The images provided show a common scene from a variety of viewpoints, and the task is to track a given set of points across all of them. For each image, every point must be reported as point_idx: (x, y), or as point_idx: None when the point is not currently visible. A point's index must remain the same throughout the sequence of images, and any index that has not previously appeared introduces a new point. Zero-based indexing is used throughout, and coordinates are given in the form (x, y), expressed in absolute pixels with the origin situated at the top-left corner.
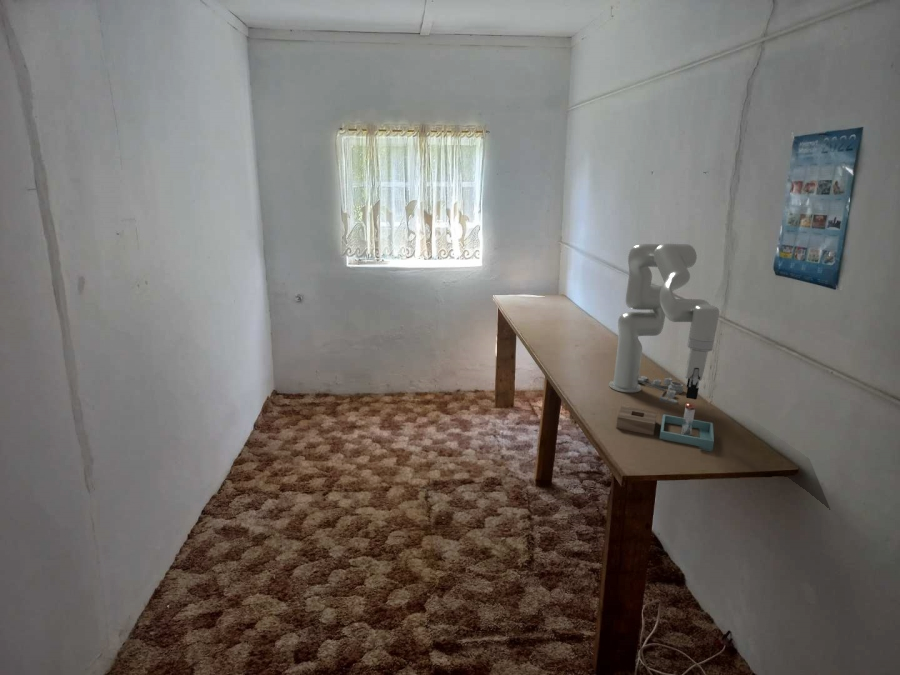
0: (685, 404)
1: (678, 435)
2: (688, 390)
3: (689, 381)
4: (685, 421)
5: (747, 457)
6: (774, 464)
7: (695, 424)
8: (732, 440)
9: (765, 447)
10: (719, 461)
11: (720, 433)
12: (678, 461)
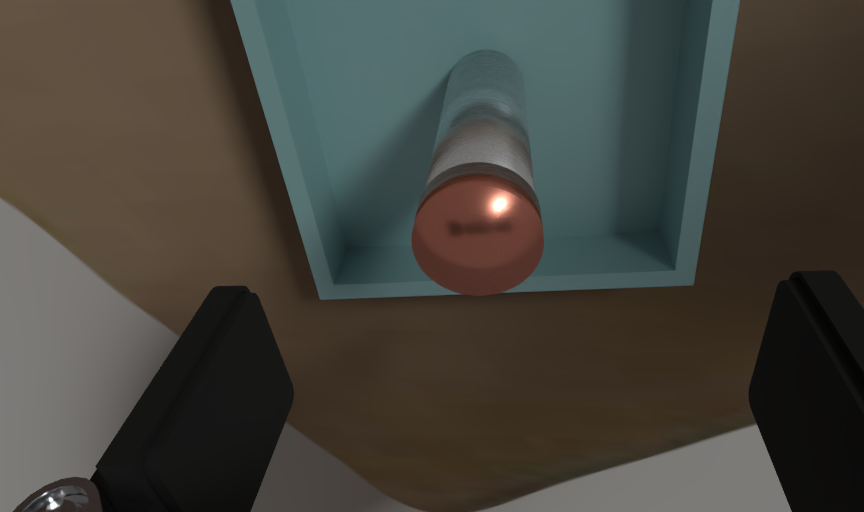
0: (467, 180)
1: (253, 66)
2: (156, 401)
3: (831, 405)
4: (439, 123)
5: (386, 393)
6: (384, 468)
7: (678, 155)
8: (589, 342)
9: (571, 456)
10: None
11: (681, 287)
12: (20, 87)
